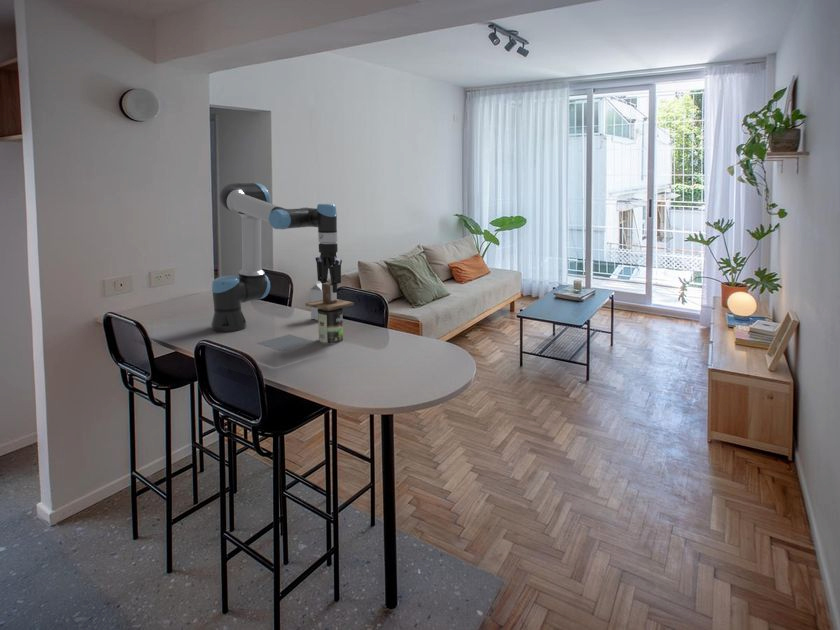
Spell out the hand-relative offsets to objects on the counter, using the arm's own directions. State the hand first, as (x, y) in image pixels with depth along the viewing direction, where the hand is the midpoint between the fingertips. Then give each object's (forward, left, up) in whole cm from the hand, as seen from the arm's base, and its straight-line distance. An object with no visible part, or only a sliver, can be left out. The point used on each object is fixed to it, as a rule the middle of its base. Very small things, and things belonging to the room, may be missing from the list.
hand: (329, 299), depth 226 cm
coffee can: (0, 0, -19) cm, 19 cm away
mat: (-12, -14, -18) cm, 26 cm away
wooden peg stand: (0, 0, -3) cm, 3 cm away
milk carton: (-32, +23, -19) cm, 44 cm away
